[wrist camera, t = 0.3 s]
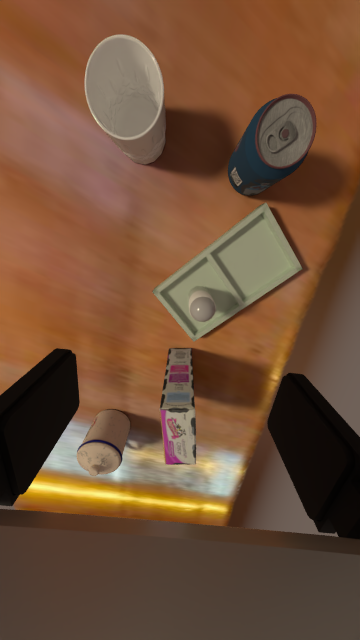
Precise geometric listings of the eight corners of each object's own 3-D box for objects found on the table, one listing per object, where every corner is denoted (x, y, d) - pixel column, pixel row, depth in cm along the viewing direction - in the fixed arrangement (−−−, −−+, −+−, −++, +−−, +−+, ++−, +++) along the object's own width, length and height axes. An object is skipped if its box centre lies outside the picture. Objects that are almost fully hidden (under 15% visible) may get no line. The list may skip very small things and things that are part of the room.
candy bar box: (167, 347, 42) (158, 408, 27) (191, 347, 42) (196, 408, 27) (170, 391, 46) (164, 466, 31) (192, 391, 46) (197, 466, 31)
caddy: (260, 205, 33) (266, 202, 30) (294, 266, 36) (302, 268, 34) (154, 288, 38) (152, 291, 36) (193, 335, 41) (193, 341, 39)
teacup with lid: (91, 406, 48) (65, 455, 37) (131, 408, 48) (115, 457, 37) (97, 443, 53) (74, 496, 42) (133, 445, 53) (119, 498, 42)
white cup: (180, 129, 30) (179, 78, 20) (150, 181, 32) (136, 157, 23) (133, 86, 28) (109, 9, 19) (105, 144, 30) (70, 101, 21)
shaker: (201, 281, 36) (207, 293, 28) (214, 298, 37) (223, 315, 29) (183, 294, 37) (183, 310, 29) (196, 311, 38) (200, 331, 30)
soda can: (260, 130, 29) (308, 64, 18) (280, 179, 32) (333, 145, 20) (217, 162, 31) (237, 119, 20) (239, 206, 33) (267, 190, 22)
